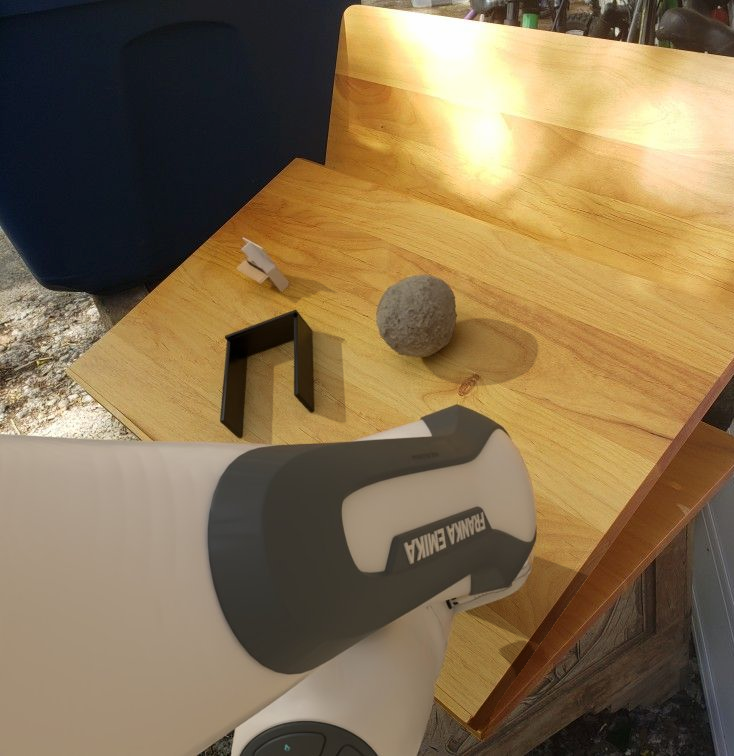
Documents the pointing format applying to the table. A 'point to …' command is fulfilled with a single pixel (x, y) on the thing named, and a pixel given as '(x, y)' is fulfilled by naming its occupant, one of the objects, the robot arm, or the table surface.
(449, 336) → the decorative stone
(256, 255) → the architectural model
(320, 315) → the table surface
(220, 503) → the robot arm
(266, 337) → the frame
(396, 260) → the table surface
